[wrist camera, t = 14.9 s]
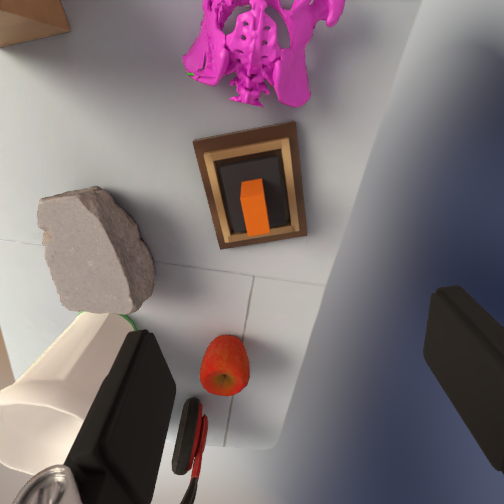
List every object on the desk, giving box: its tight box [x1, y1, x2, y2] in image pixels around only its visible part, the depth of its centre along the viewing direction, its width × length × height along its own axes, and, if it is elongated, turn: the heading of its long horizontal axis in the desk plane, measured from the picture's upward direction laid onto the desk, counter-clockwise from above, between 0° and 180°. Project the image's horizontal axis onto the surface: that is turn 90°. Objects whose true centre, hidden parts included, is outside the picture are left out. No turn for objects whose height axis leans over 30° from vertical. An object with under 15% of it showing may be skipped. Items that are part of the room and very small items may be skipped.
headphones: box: [172, 398, 208, 504], centre depth 41 cm, size 18×10×20 cm, turn 76°
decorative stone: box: [37, 186, 155, 315], centre depth 33 cm, size 15×7×10 cm
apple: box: [200, 335, 250, 396], centre depth 40 cm, size 6×6×8 cm
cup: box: [0, 311, 137, 476], centre depth 36 cm, size 12×12×15 cm
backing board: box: [193, 121, 307, 249], centre depth 32 cm, size 12×10×2 cm
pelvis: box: [183, 0, 345, 107], centre depth 24 cm, size 12×10×7 cm
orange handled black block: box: [220, 154, 287, 237], centre depth 29 cm, size 7×6×6 cm
